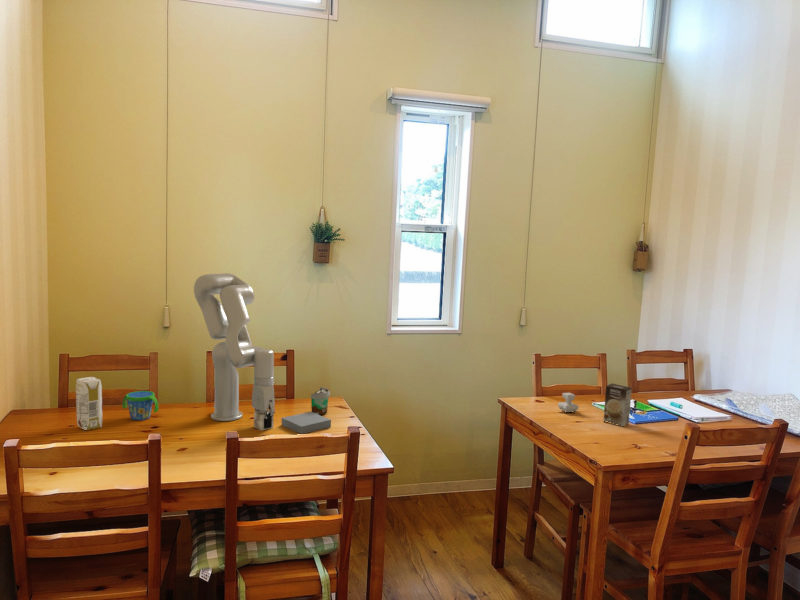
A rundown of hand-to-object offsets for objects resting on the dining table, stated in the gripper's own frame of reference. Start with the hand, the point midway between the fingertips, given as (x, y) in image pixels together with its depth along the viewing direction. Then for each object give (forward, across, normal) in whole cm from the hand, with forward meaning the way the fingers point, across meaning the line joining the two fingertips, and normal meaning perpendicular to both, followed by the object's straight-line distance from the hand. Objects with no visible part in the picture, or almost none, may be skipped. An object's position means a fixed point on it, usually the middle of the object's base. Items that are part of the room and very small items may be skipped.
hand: (263, 425), depth 235 cm
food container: (+1, -1, +29) cm, 29 cm away
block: (+1, 0, 0) cm, 1 cm away
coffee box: (+1, +86, +120) cm, 148 cm away
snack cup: (+1, -40, -33) cm, 52 cm away
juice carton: (+1, -40, -52) cm, 66 cm away
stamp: (+1, +64, +118) cm, 134 cm away
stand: (+1, +9, +14) cm, 17 cm away
